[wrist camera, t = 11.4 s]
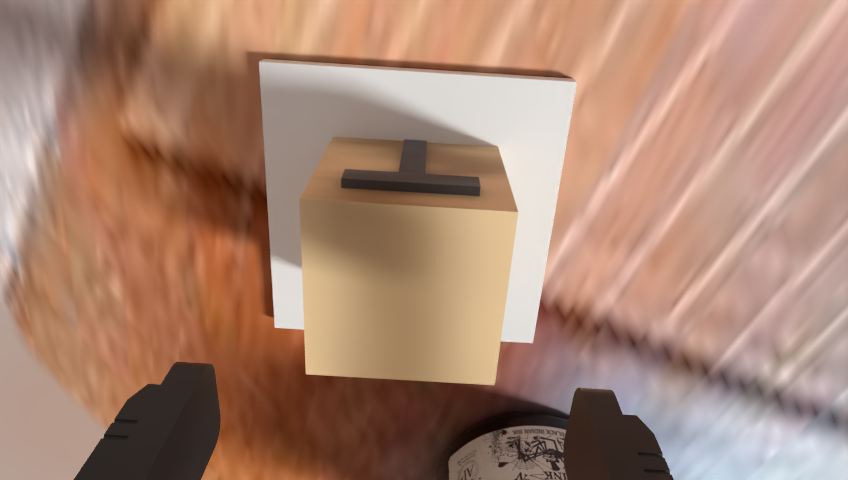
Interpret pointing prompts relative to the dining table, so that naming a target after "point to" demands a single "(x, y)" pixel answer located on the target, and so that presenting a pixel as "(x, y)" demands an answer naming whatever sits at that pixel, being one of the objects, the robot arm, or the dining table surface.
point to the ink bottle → (508, 450)
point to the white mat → (414, 120)
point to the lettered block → (406, 260)
